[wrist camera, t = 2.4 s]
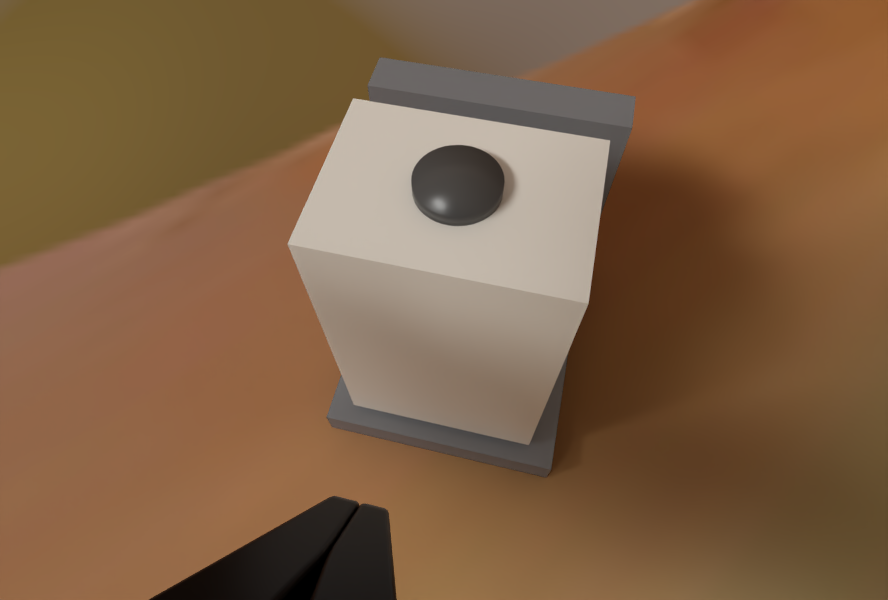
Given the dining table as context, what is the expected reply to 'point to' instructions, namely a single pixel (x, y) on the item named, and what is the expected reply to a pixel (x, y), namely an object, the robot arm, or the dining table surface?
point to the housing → (511, 106)
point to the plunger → (451, 262)
